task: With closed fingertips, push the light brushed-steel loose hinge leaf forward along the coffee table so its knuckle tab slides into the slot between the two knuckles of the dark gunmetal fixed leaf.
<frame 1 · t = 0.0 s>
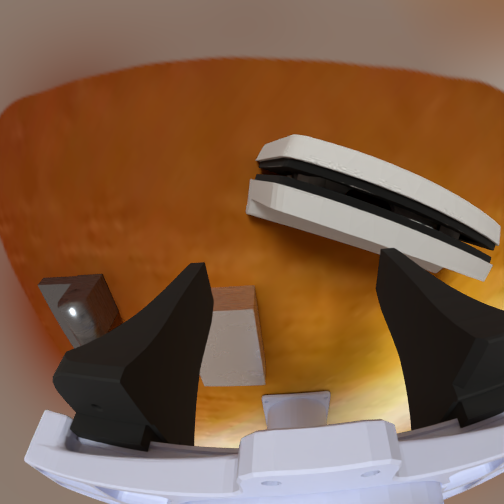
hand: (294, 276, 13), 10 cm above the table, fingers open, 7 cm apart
loose leaf: (228, 329, 29), on the table
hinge: (366, 195, 21), on the table
fixed leaf: (104, 330, 30), on the table
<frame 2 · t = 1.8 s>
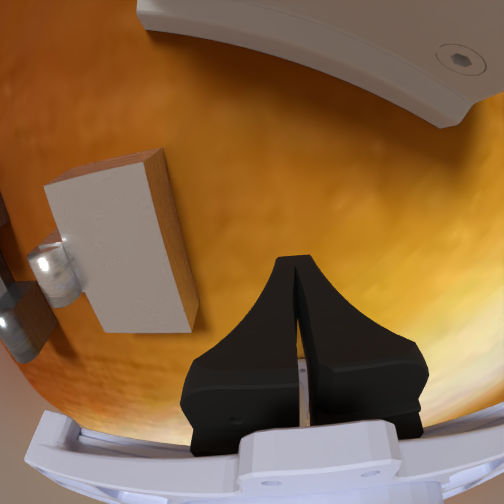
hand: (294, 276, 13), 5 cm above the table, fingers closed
loose leaf: (135, 237, 18), on the table
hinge: (325, 0, 11), on the table
fixed leaf: (1, 254, 19), on the table
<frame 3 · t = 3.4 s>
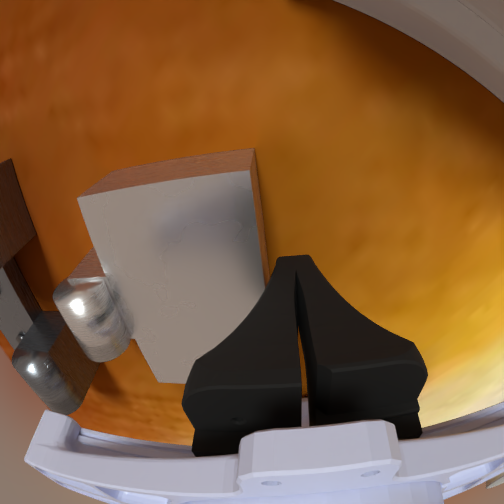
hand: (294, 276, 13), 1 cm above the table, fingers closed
loose leaf: (202, 265, 14), on the table, touching gripper
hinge: (476, 3, 7), on the table
fixed leaf: (23, 277, 16), on the table
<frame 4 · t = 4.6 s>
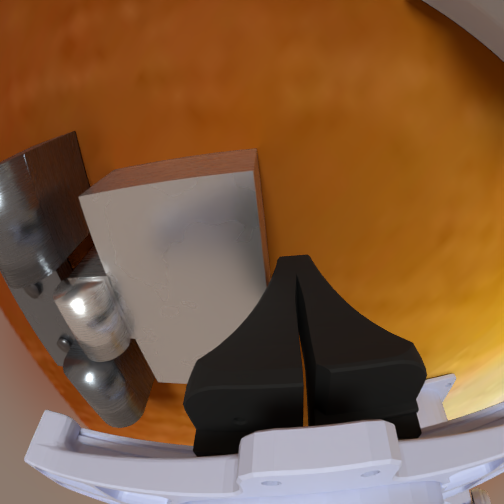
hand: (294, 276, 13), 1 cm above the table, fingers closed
loose leaf: (202, 265, 14), on the table, touching gripper
fixed leaf: (73, 272, 15), on the table
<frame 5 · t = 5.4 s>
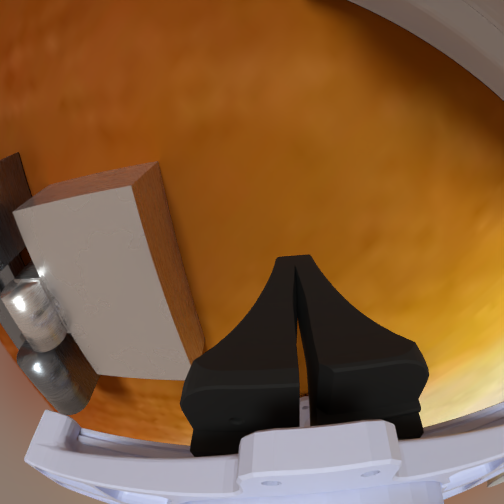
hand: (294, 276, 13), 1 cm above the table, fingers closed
loose leaf: (127, 268, 15), on the table
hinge: (486, 10, 7), on the table
fixed leaf: (28, 274, 15), on the table
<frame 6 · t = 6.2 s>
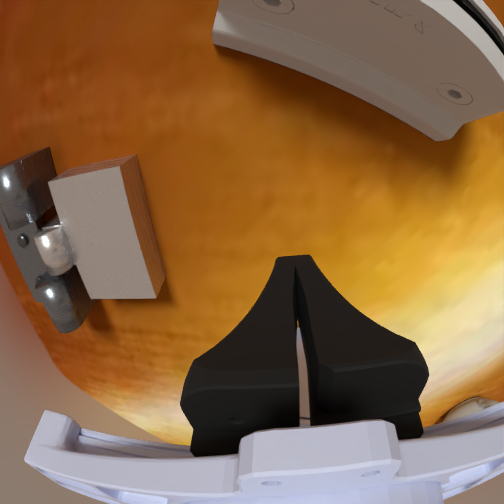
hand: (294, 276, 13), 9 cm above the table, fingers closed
loose leaf: (116, 222, 23), on the table
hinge: (356, 36, 15), on the table
teacup: (467, 401, 36), on the table
fixed leaf: (48, 231, 23), on the table
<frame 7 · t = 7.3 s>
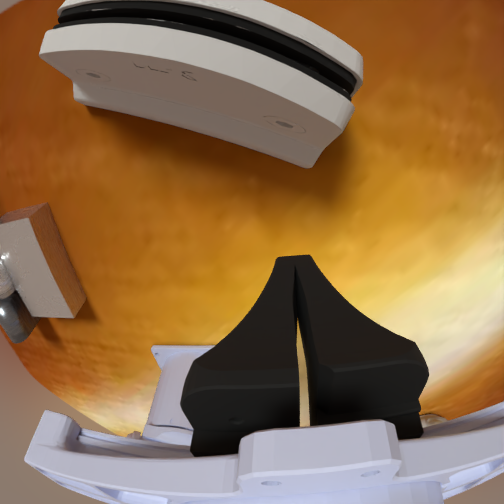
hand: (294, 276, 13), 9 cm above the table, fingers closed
loose leaf: (45, 255, 25), on the table
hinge: (207, 73, 17), on the table
fixed leaf: (1, 260, 25), on the table
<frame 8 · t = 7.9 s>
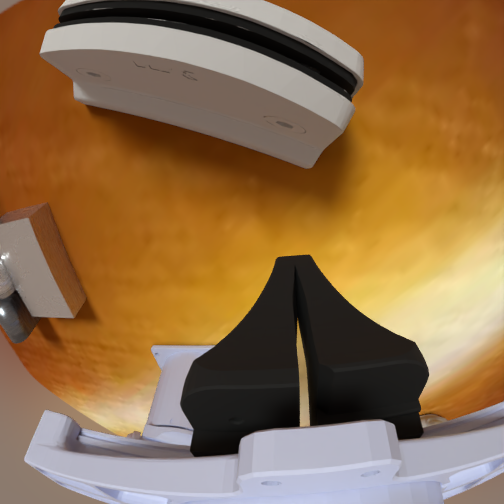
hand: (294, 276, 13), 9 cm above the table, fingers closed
loose leaf: (45, 255, 25), on the table
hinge: (207, 72, 17), on the table
fixed leaf: (1, 260, 25), on the table
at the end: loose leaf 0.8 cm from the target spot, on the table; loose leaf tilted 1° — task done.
